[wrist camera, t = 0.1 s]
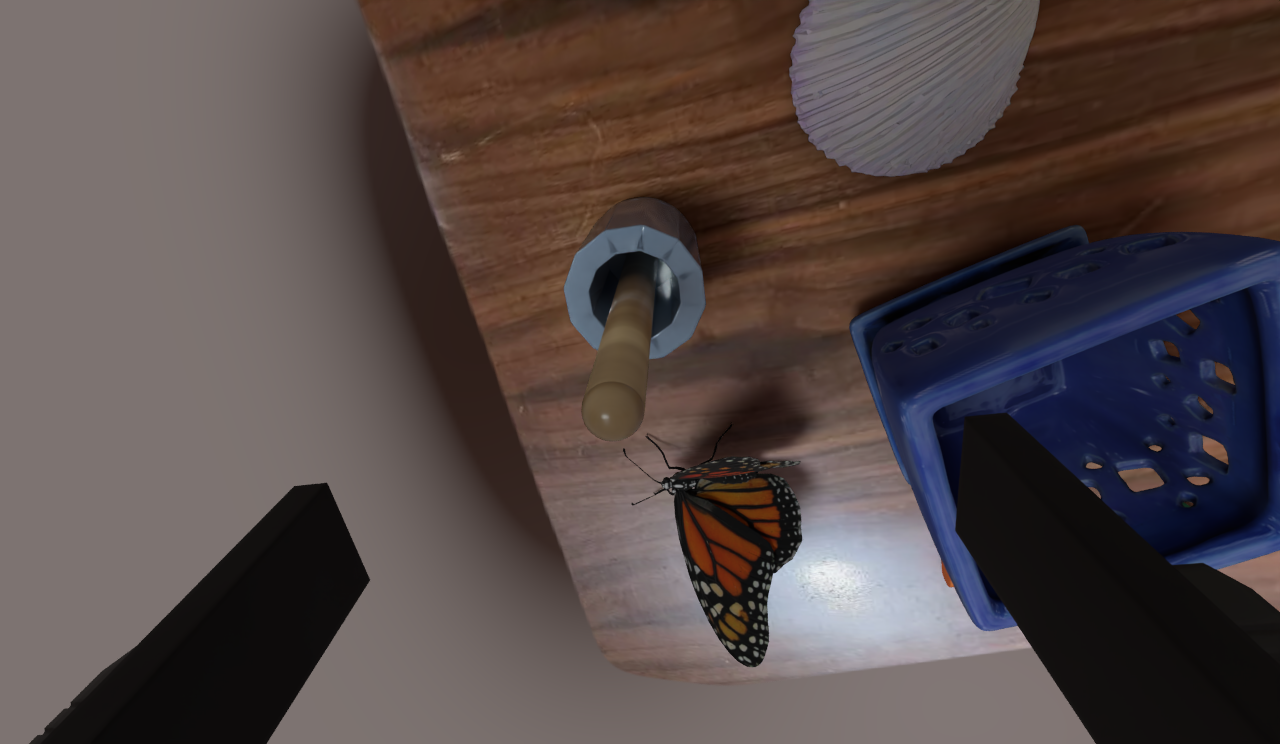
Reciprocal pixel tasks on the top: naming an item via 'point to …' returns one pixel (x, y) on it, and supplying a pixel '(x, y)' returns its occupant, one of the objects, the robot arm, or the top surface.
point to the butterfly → (735, 543)
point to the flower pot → (1095, 385)
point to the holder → (602, 263)
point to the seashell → (906, 77)
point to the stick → (623, 354)
